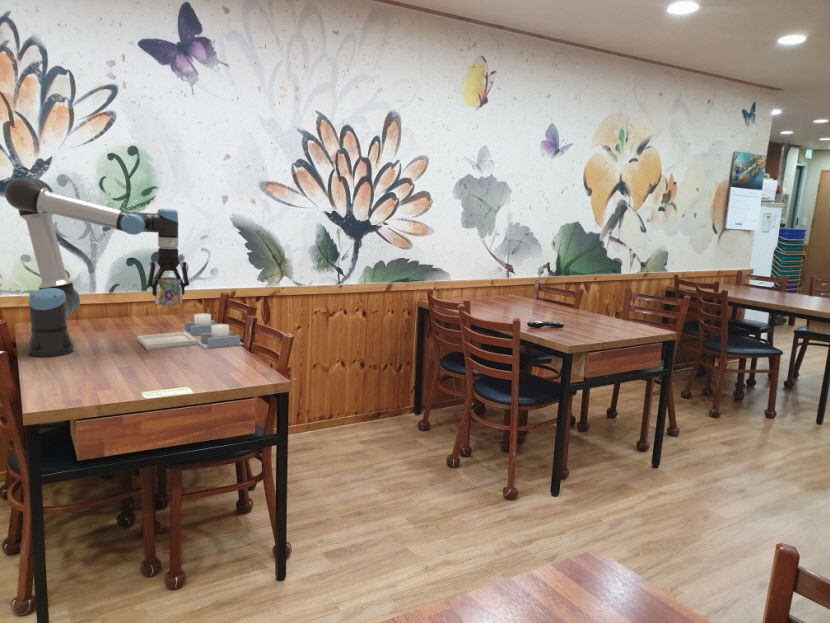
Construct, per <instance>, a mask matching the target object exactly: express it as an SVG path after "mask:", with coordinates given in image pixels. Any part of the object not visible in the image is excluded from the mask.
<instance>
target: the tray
mask: <svg viewBox="0 0 830 623" xmlns="http://www.w3.org/2000/svg"><path fill="white" fill-rule="evenodd" d="M189 334H190V333H189ZM189 334H187V333H186V332H182V331H181V332H168V333H167V332H166V333H159V334H146V335H137V342H139V344H140V345H141V346H142V347H143V348H145V350H146V351H148V350H149V351H150V350H159V349H170V347H171V348H176V347H177V348H178V347H179V348H181V347H187V346H188V347H190V346H196V345H197V343H196V340H195V339H194V338H193V337H191V336H190V335H189Z"/></svg>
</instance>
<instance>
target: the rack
mask: <svg viewBox="0 0 830 623" xmlns="http://www.w3.org/2000/svg"><path fill="white" fill-rule="evenodd" d="M214 324H216V323H215V320H214V319H211V325H214ZM211 325H202V326H195V325H194V321H188V322H184V329H183V330H181V332H186V333H187V334H189V335H190V336H191V337H193V338H194V339H195V340H196V345H198V346H200V347H201V348H203V349H204V350H207V349H209V348H210V349H215V348H218V347H219V348H226V347H227V346H229V347H236V346H235V345H238V346H244V343H243V341H242V342H241V335H234V331H232V330H231V331H230V330H229V336H227V337H217V338H212V334H211ZM196 336H200V340H199V339H198V338H197V337H196ZM206 344H207V345H206ZM227 348H228V347H227ZM210 349H209V350H210Z"/></svg>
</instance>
